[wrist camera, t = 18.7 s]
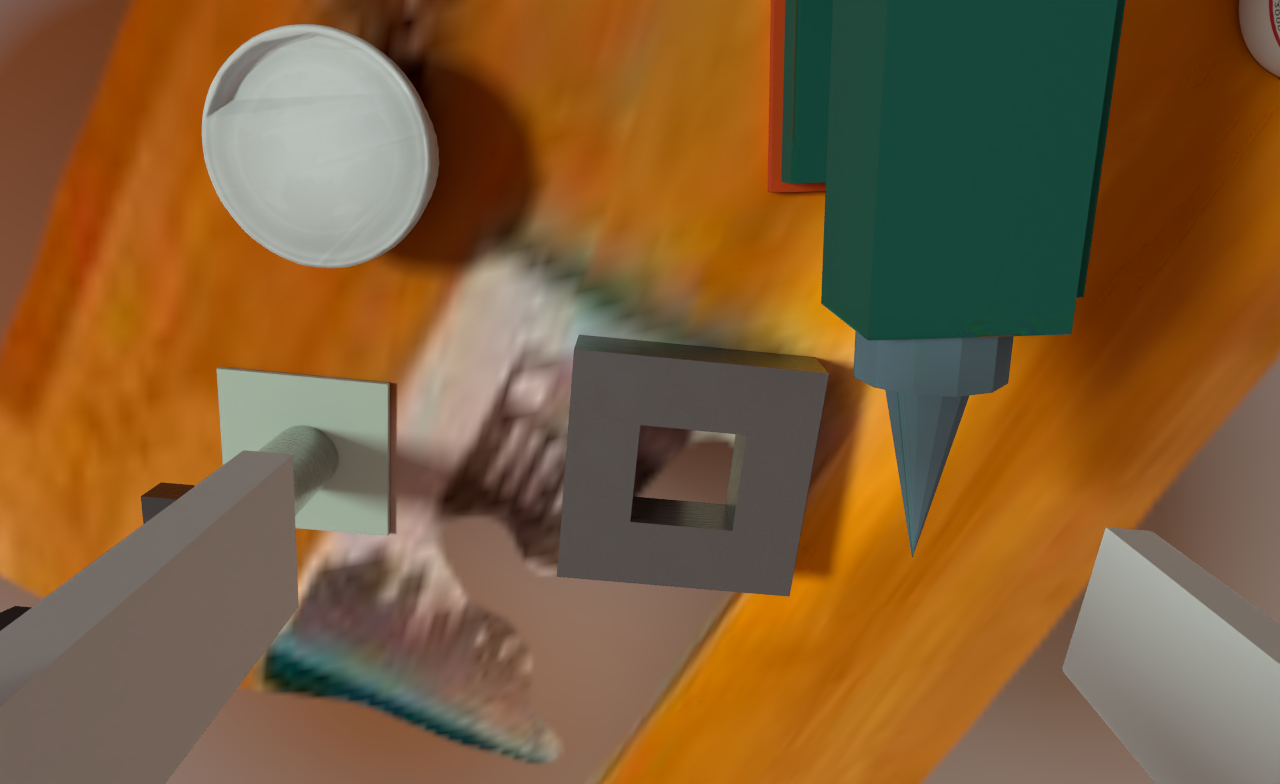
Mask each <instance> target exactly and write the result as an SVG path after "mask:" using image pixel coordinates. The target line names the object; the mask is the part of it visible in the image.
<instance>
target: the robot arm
mask: <svg viewBox="0 0 1280 784" xmlns="http://www.w3.org/2000/svg"><path fill="white" fill-rule="evenodd" d="M297 608H298V581H297V554H296V528H295V501H294V474H293V455H292V454H281V453H270V452H258V451H247V450H243V451H242V452H240V453H239V454H238V455H236V456H235V457H234V458H232V459H231V460H230V461H228V462H227V463H226V464H224V465H223V466H222V467H220V468H219V469H218V470H216V471H215V472H214V473H212V474H211V475H209V476H208V477H207V478H205V479H204V480H203V481H201V482H200V483H199V484H197V485H196V486H195V487H193V488H192V489H191V490H189V491H188V492H187V493H185V494H184V495H183V496H181V497H180V498H179V499H177V500H176V501H175V502H173V503H172V504H171V505H169V506H168V507H166V508H165V509H164V510H162V511H161V512H160V513H158V514H157V515H156V516H154V517H153V518H152V519H150V520H149V521H148V522H146V523H145V524H144V525H142V526H141V527H140V528H138V529H137V530H136V531H134V532H133V533H132V534H130V535H129V536H127V537H126V538H125V539H123V540H122V541H121V542H119V543H118V544H117V545H115V546H114V547H113V548H111V549H110V550H109V551H107V552H106V553H105V554H103V555H102V556H101V557H99V558H98V559H97V560H95V561H94V562H93V563H91V564H90V565H89V566H87V567H86V568H84V569H83V570H82V571H80V572H79V573H78V574H76V575H75V576H74V577H72V578H71V579H70V580H68V581H67V582H66V583H64V584H63V585H62V586H60V587H59V588H58V589H56V590H55V591H54V592H52V593H51V594H50V595H48V596H47V597H45V598H44V599H43V600H41V601H40V602H39V603H37V604H36V605H35V606H34V607H20V606H14V607H12V608H10V609H8V610H6V611H3V612H1V613H0V784H165V783H166V782H167V781H168V779H169V778H170V776H171V775H172V774H173V773H174V771H175V770H176V769H177V767H178V766H179V765H180V763H181V762H182V761H183V759H184V758H185V757H186V755H187V754H188V753H189V751H190V750H191V749H192V747H193V746H194V744H195V743H196V742H197V741H198V739H199V738H200V737H201V735H202V734H203V733H204V731H205V730H206V729H207V727H208V726H209V725H210V724H211V722H212V721H213V719H214V718H215V717H216V716H217V714H218V713H219V712H220V710H221V709H222V707H223V706H224V705H225V703H226V702H227V701H228V700H229V698H230V697H231V696H232V694H233V693H234V692H235V690H236V689H237V688H238V686H239V685H240V684H241V682H242V681H243V680H244V678H245V677H246V676H247V674H248V673H249V672H250V670H251V669H252V668H253V666H254V665H255V664H256V662H257V661H258V660H259V658H260V657H261V656H262V655H263V653H264V652H265V651H266V649H267V648H268V647H269V645H270V644H271V643H272V641H273V640H274V639H275V637H276V636H277V635H278V633H279V632H280V631H281V629H282V628H283V627H284V625H285V624H286V623H287V621H288V620H289V619H290V617H291V616H292V615H293V613H294V612H295V611H296V609H297ZM1062 671H1063V672H1064V673H1065V674H1066V676H1067V677H1068V678H1069V679H1070V680H1071V682H1072V683H1073V684H1074V685H1075V686H1076V688H1077V689H1078V690H1079V691H1080V692H1081V694H1082V695H1083V696H1084V697H1085V698H1086V700H1087V701H1088V702H1089V703H1090V704H1091V706H1092V707H1093V708H1094V709H1095V711H1096V712H1097V713H1098V714H1099V715H1100V717H1101V718H1102V719H1103V720H1104V721H1105V723H1106V724H1107V725H1108V726H1109V727H1110V729H1111V730H1112V731H1113V732H1114V733H1115V735H1116V736H1117V737H1118V738H1119V739H1120V741H1121V742H1122V743H1123V744H1124V746H1125V747H1126V748H1127V749H1128V750H1129V752H1130V753H1131V754H1132V755H1133V756H1134V757H1135V759H1136V760H1137V761H1138V762H1139V764H1140V765H1141V766H1142V767H1143V768H1144V770H1145V771H1146V772H1147V773H1148V774H1149V776H1150V777H1151V778H1152V779H1153V780H1154V782H1155V783H1156V784H1280V624H1279V623H1277V622H1276V621H1274V620H1273V619H1272V618H1270V617H1269V616H1268V615H1266V614H1265V613H1263V612H1262V611H1261V610H1259V609H1258V608H1256V607H1255V606H1254V605H1252V604H1251V603H1250V602H1248V601H1247V600H1246V599H1244V598H1243V597H1241V596H1240V595H1238V594H1237V593H1236V592H1235V591H1233V590H1232V589H1230V588H1229V587H1227V586H1226V585H1225V584H1223V583H1222V582H1221V581H1219V580H1218V579H1217V578H1215V577H1214V576H1213V575H1211V574H1210V573H1208V572H1207V571H1206V570H1204V569H1203V568H1201V567H1200V566H1199V565H1197V564H1196V563H1194V562H1193V561H1192V560H1191V559H1189V558H1188V557H1186V556H1185V555H1184V554H1182V553H1181V552H1180V551H1178V550H1177V549H1175V548H1174V547H1173V546H1171V545H1170V544H1168V543H1167V542H1166V541H1164V540H1163V539H1161V538H1160V537H1159V536H1157V535H1156V534H1155V533H1153V532H1152V531H1142V530H1131V529H1120V528H1109V527H1106V529H1105V532H1104V535H1103V539H1102V542H1101V545H1100V548H1099V552H1098V555H1097V558H1096V561H1095V565H1094V568H1093V571H1092V574H1091V578H1090V581H1089V584H1088V587H1087V591H1086V594H1085V597H1084V600H1083V604H1082V607H1081V610H1080V613H1079V617H1078V620H1077V623H1076V626H1075V630H1074V633H1073V636H1072V640H1071V643H1070V646H1069V649H1068V652H1067V656H1066V659H1065V662H1064V665H1063V669H1062Z"/></svg>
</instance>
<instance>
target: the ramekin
mask: <svg viewBox="0 0 1280 784" xmlns="http://www.w3.org/2000/svg"><path fill="white" fill-rule="evenodd" d="M202 143H203V152H204V158H205V162H206V166H207V169H208V173H209V176H210V179H211V181H212V183H213V185H214V188H215V190H216V192H217V194H218V196H219V198H220V200H221V201H222V203H223V205H224V206H225V207H226V209H227V210H228V212H229V213H230V215H231V216H232V217H233V218H234V220H235V221H236V222H237V223H238V224H239V225H240V226H241V228H242V229H243V230H244V231H245V232H246V233H247V234H249V235H250V236H251V237H252V238H253V239H254V240H256V241H257V242H258V243H259V244H261V245H262V246H263V247H265V248H267V249H268V250H270V251H272V252H273V253H275V254H277V255H279V256H281V257H283V258H285V259H288V260H290V261H293V262H296V263H298V264H301V265H306V266H312V267H320V268H342V267H349V266H354V265H358V264H361V263H365V262H367V261H370V260H372V259H374V258H377V257H379V256H381V255H382V254H384V253H386V252H388V251H389V250H391V249H392V248H394V247H395V246H396V245H397V244H399V243H400V242H401V241H402V240H403V239H404V238H405V237H406V236H407V235H408V234H409V233H410V231H411V230H412V229H413V228H414V226H415V225H416V223H417V222H418V221H419V219H420V217H421V216H422V214H423V212H424V210H425V208H426V207H427V204H428V202H429V200H430V199H431V197H432V194H433V191H434V189H435V187H436V181H437V177H438V168H439V148H438V144H437V136H436V133H435V131H434V127H433V123H432V121H431V120H430V118H429V115H428V112H427V110H426V109H425V107H424V105H423V102H422V100H421V98H420V96H419V94H418V93H417V91H416V89H415V88H414V86H413V85H412V83H411V82H410V80H409V79H408V78H407V76H406V75H405V74H404V72H403V71H402V70H401V69H400V68H399V67H398V66H397V65H396V64H395V63H394V62H393V61H392V60H391V59H390V58H389V57H388V56H386V55H385V54H384V53H383V52H381V51H380V50H379V49H377V48H376V47H374V46H373V45H372V44H370V43H368V42H367V41H365V40H363V39H361V38H359V37H357V36H355V35H353V34H350V33H348V32H345V31H342V30H340V29H336V28H332V27H328V26H322V25H314V24H298V25H288V26H282V27H277V28H274V29H271V30H268V31H265V32H263V33H261V34H259V35H257V36H255V37H253V38H251V39H250V40H248V41H247V42H245V43H244V44H243V45H241V46H240V47H239V48H238V49H237V50H236V51H235V52H234V53H233V54H232V55H231V56H230V57H229V58H228V59H227V60H226V61H225V63H224V64H223V65H222V67H221V68H220V70H219V71H218V73H217V75H216V76H215V78H214V80H213V82H212V84H211V86H210V89H209V91H208V94H207V97H206V101H205V106H204V111H203V119H202Z"/></svg>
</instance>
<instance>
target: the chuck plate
mask: <svg viewBox="0 0 1280 784" xmlns="http://www.w3.org/2000/svg"><path fill="white" fill-rule="evenodd" d="M828 377H829V373H828V372H827V371H826V369H825V368H824V367H823V366H822V365H821V364H820V363H819V362H818V360H817V359H816V358H815V357H805V356H795V355H784V354H774V353H763V352H753V351H743V350H732V349H722V348H711V347H701V346H690V345H680V344H669V343H659V342H648V341H638V340H627V339H617V338H606V337H596V336H585V335H579V336H578V339H577V342H576V345H575V348H574V358H573V372H572V385H571V398H570V411H569V425H568V438H567V451H566V464H565V478H564V491H563V504H562V517H561V531H560V544H559V557H558V570H557V577H568V578H580V579H591V580H603V581H615V582H626V583H639V584H650V585H662V586H674V587H686V588H697V589H709V590H720V591H732V592H744V593H755V594H767V595H779V596H790V590H791V584H792V579H793V573H794V568H795V562H796V556H797V551H798V545H799V539H800V534H801V528H802V523H803V517H804V511H805V506H806V500H807V495H808V489H809V483H810V478H811V472H812V466H813V461H814V455H815V450H816V444H817V438H818V433H819V427H820V422H821V416H822V410H823V405H824V399H825V393H826V388H827V382H828ZM640 425H643V426H654V427H665V428H676V429H687V430H698V431H709V432H720V433H731V434H736V437H735V444H734V451H733V458H732V465H731V472H730V479H729V486H728V492H727V499H726V505H722V504H710V503H699V502H688V501H676V500H666V499H654V498H643V497H633V490H634V481H635V471H636V462H637V452H638V443H639V433H640Z"/></svg>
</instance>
